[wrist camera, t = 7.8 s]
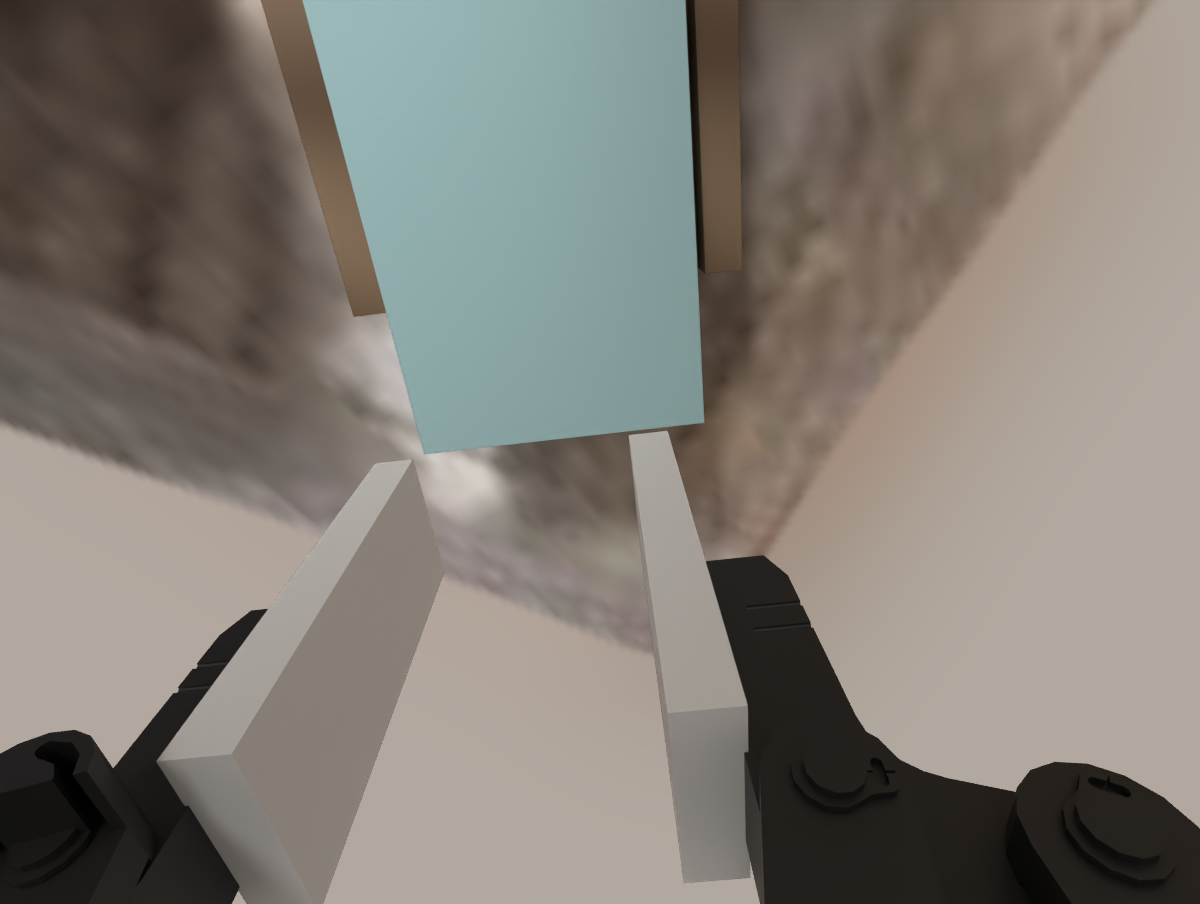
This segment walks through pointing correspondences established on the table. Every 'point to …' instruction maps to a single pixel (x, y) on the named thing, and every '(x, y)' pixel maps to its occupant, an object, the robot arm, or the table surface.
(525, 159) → the teal rectangular block
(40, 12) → the table surface
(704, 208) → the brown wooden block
